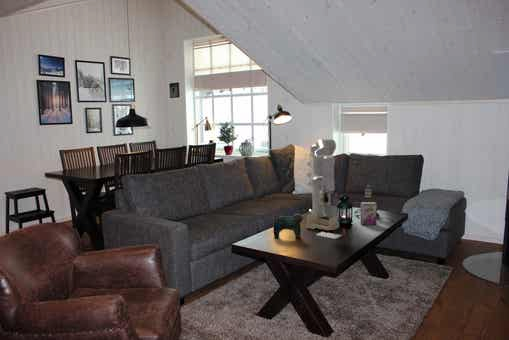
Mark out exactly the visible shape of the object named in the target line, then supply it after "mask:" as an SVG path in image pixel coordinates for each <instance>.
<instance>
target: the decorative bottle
mask: <svg viewBox="0 0 509 340" xmlns="http://www.w3.org/2000/svg"><path fill="white" fill-rule="evenodd" d="M365 186H366V188H365V189H364V191H365V192H364V194H365V195H364V198H368V199H369V198H372V189H371V188H372V186H371V185H369V184H368V185H365ZM357 200H358V201H359V202H360V203H361V202H365V201H364V200H363V199H361V198H357ZM376 203H377V206H378V205H379V204H381V203H383V200H378V201H376ZM359 206H360V207H359V209H357V210H356V211H354V214H358V213H360V214H361V204H360V205H359ZM379 216H380V214H379V213H378V212H377V217H379Z"/></svg>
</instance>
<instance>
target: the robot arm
mask: <svg viewBox="0 0 509 340" xmlns="http://www.w3.org/2000/svg"><path fill="white" fill-rule="evenodd" d="M336 149H337V143H336V141H335V140H334V139H331V138H330V139H328V138H327V139H326V138H325V139H324V138H323V139H319V140H318V141H316V143H315V144H312V145H311V146H310V153H311V156H312V159H313V162H312V163H313V164H312V165H313V167H312V169H313V170H312V171H313V175H314V176H316V177H313V178H312V179H311V182H310V183H311V190H312V192H311V193H312V209H309V210H308V213H311V214H313V213H315V212H316V218H318V219H323V218H326V217H327V214H326V213H325V204H319V192H321V191H322V194H323V196H324V202H327V203H328V192H335V163H336V158H335V157H334V156H333V155H334V153H335V151H336ZM325 191H326V192H325ZM326 193H327V194H326Z"/></svg>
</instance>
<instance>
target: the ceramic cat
mask: <svg viewBox="0 0 509 340" xmlns="http://www.w3.org/2000/svg"><path fill="white" fill-rule="evenodd" d="M289 211H292V215H288V214H285V213H281V214H280V213H279V214H278V215H277V216H276V217H275V218H274V223H273V230H272V231H273V237H274V239H278V240H279V239H280V233H281V232H282V231H283V230H289V231H293V233H294V235H295V240H301V233H302V230H301V224H302V222H303V220H304V216H303V214H302V212H301V211H300V212H299V213H294V209H291V208H290V209H288V210H287V212H289Z"/></svg>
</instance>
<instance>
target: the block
mask: <svg viewBox="0 0 509 340" xmlns="http://www.w3.org/2000/svg"><path fill="white" fill-rule="evenodd" d="M325 192H326V191H325ZM326 194H327V193H326ZM319 204H324V205H326V206H332V207H334V206H337V205H339V192H335V191H334V192H328V203H327V202H324V196H323V194H322V191H321V192H319Z"/></svg>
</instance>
